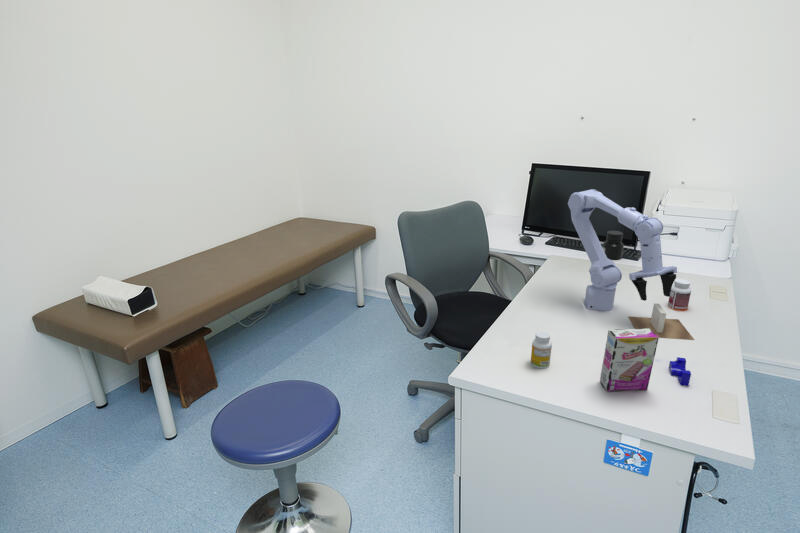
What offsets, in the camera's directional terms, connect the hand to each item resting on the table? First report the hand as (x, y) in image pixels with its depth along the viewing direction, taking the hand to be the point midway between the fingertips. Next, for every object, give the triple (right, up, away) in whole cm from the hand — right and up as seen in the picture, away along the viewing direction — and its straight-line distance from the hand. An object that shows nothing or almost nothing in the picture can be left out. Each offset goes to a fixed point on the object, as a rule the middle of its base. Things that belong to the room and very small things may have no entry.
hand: (655, 297), depth 149 cm
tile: (+2, -10, +3) cm, 10 cm away
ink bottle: (+17, +14, +68) cm, 72 cm away
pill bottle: (+17, -6, +16) cm, 24 cm away
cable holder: (-6, -21, -21) cm, 30 cm away
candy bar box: (-22, -22, -25) cm, 40 cm away
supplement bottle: (-41, -19, -14) cm, 47 cm away
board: (+3, -11, +3) cm, 11 cm away
